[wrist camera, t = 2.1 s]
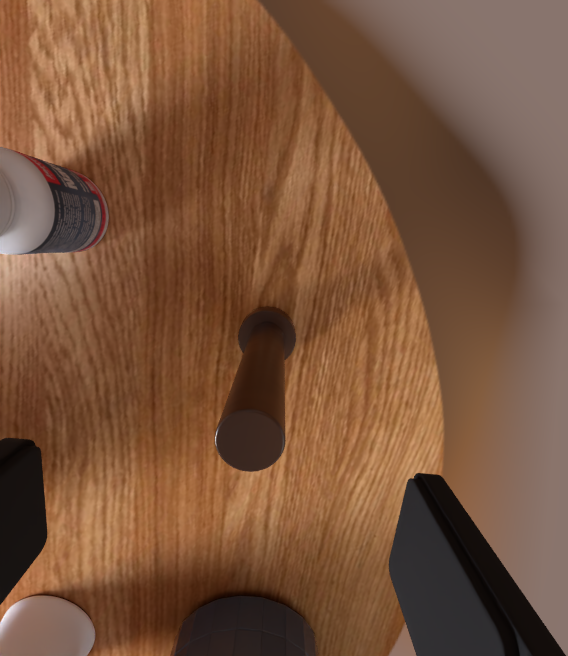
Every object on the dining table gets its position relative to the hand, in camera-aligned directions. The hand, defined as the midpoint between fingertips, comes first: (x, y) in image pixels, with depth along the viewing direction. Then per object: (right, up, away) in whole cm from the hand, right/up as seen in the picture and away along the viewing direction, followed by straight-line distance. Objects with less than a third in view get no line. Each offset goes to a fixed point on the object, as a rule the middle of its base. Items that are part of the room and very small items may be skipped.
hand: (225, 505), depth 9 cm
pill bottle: (-13, +12, +14) cm, 23 cm away
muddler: (0, +4, +16) cm, 17 cm away
